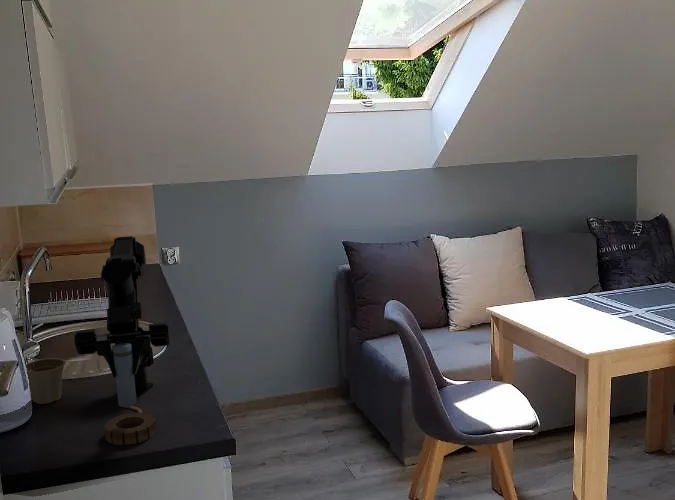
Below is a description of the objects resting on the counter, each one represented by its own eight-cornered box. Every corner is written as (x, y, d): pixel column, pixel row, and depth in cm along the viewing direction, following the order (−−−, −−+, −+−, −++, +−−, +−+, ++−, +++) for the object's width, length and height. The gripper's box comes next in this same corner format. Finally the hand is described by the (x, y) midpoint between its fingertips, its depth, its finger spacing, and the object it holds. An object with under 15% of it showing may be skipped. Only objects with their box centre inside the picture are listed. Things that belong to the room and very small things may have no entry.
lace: (124, 406, 158) (124, 403, 158) (137, 403, 159) (137, 401, 159) (133, 426, 147) (133, 423, 147) (147, 423, 149) (147, 421, 148)
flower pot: (64, 388, 170) (60, 355, 168) (72, 400, 162) (68, 366, 161) (23, 397, 165) (19, 363, 164) (29, 410, 157) (25, 375, 156)
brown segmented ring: (122, 421, 150) (121, 410, 149) (164, 425, 147) (163, 414, 147) (96, 442, 140) (95, 431, 140) (140, 447, 138) (139, 435, 137)
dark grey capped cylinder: (117, 401, 144) (112, 344, 141) (135, 398, 145) (130, 341, 143) (118, 408, 140) (113, 349, 138) (137, 405, 142) (132, 347, 139)
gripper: (70, 293, 140) (69, 363, 131) (164, 285, 144) (169, 352, 136) (78, 320, 149) (78, 387, 140) (167, 312, 153) (172, 376, 145)
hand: (124, 375), depth 140 cm, fingers closed on dark grey capped cylinder, 4 cm apart
